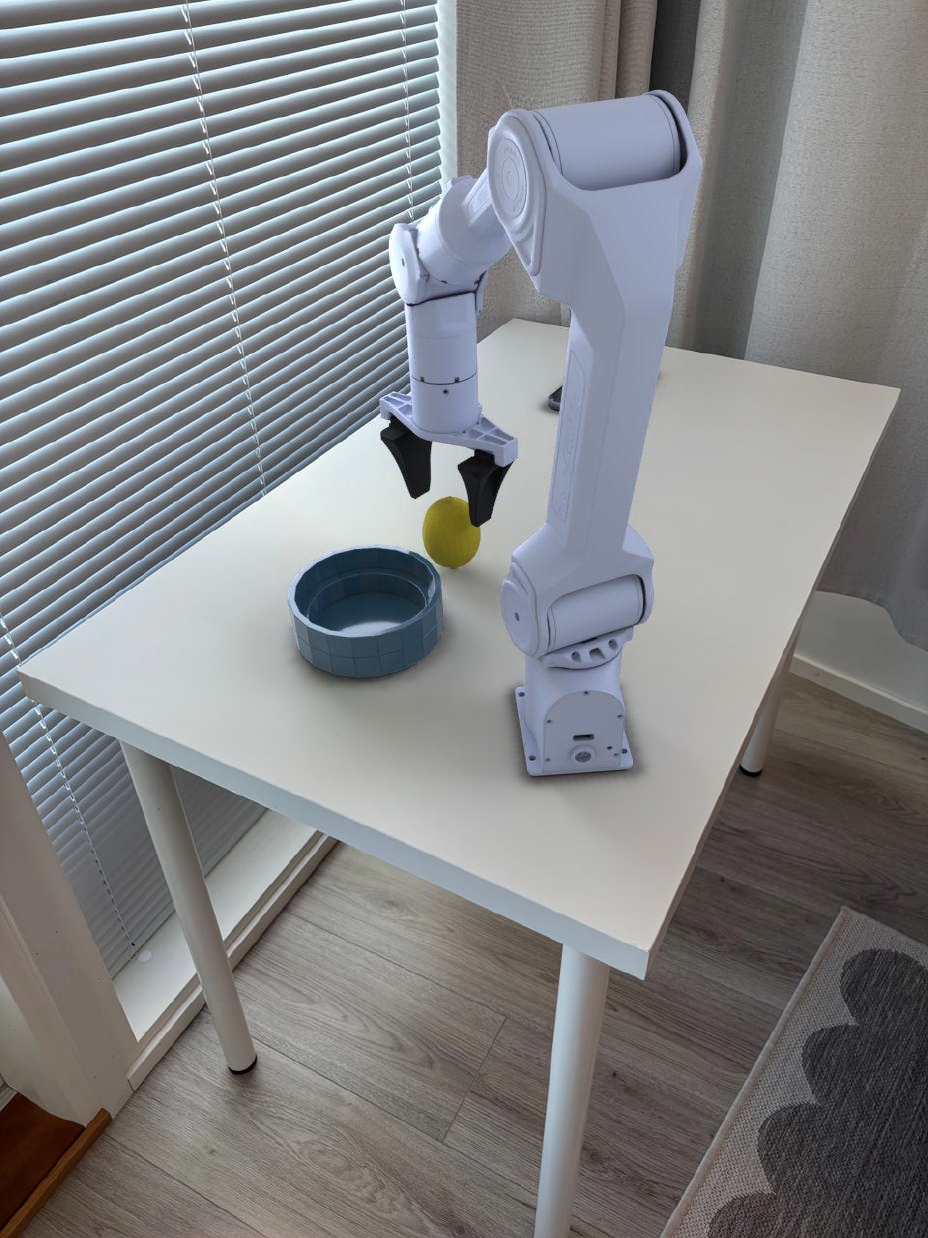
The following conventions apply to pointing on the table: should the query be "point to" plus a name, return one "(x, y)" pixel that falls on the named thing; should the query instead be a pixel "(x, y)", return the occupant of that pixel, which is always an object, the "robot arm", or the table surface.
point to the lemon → (450, 533)
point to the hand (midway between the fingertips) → (450, 507)
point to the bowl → (366, 610)
